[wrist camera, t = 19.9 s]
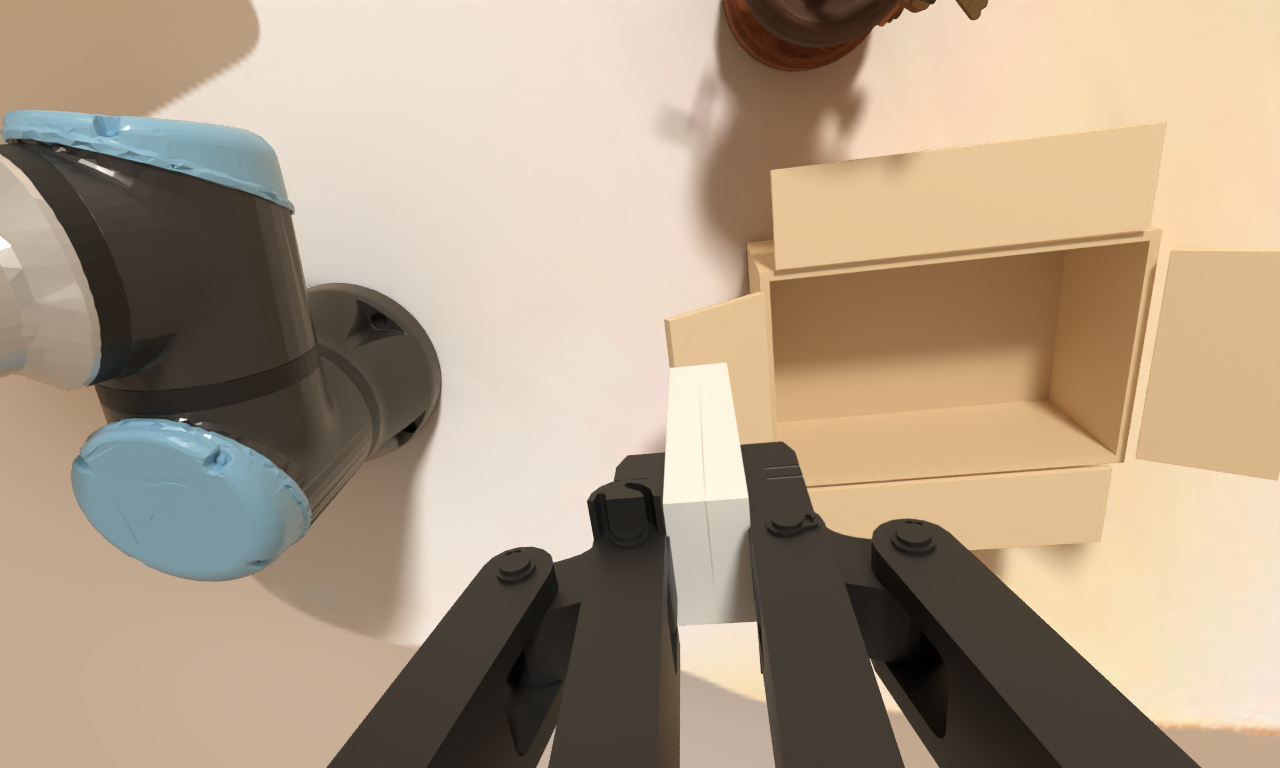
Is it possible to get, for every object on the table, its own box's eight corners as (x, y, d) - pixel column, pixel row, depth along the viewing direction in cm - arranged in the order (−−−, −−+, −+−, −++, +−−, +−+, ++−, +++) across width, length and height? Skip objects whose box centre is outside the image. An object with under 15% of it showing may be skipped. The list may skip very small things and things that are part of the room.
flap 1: (770, 482, 48) (687, 518, 45) (758, 291, 43) (664, 318, 40) (775, 486, 48) (692, 522, 45) (764, 293, 42) (669, 321, 40)
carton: (762, 489, 61) (777, 562, 51) (740, 158, 50) (753, 173, 40) (1045, 467, 58) (1116, 540, 49) (1086, 115, 48) (1187, 119, 38)
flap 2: (1135, 458, 45) (1277, 480, 41) (1171, 250, 40) (1337, 252, 36) (1135, 454, 46) (1276, 475, 42) (1171, 248, 40) (1335, 249, 36)
